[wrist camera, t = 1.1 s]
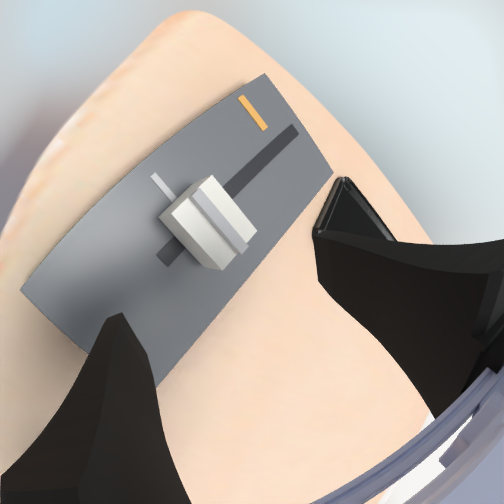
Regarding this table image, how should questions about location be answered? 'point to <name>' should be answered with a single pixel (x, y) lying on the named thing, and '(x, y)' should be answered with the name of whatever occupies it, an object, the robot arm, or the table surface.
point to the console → (163, 240)
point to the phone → (350, 213)
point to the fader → (209, 224)
